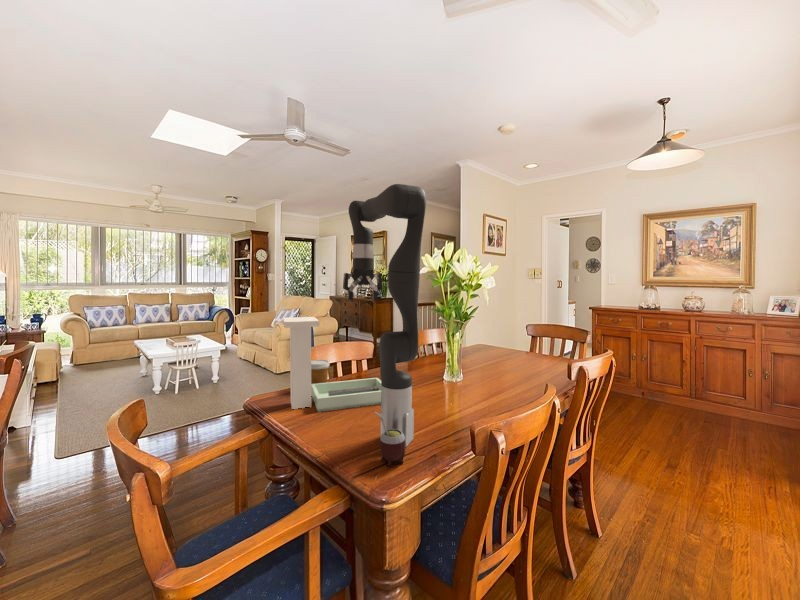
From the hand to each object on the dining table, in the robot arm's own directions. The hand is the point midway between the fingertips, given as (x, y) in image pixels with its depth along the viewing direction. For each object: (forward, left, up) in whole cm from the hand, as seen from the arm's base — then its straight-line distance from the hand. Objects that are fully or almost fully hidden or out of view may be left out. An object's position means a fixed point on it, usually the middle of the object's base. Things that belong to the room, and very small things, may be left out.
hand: (362, 301), depth 129 cm
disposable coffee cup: (+28, -11, -40) cm, 50 cm away
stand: (+22, +8, -40) cm, 47 cm away
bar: (+7, -7, -39) cm, 40 cm away
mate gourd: (-26, +30, -40) cm, 57 cm away
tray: (+9, -6, -40) cm, 42 cm away
